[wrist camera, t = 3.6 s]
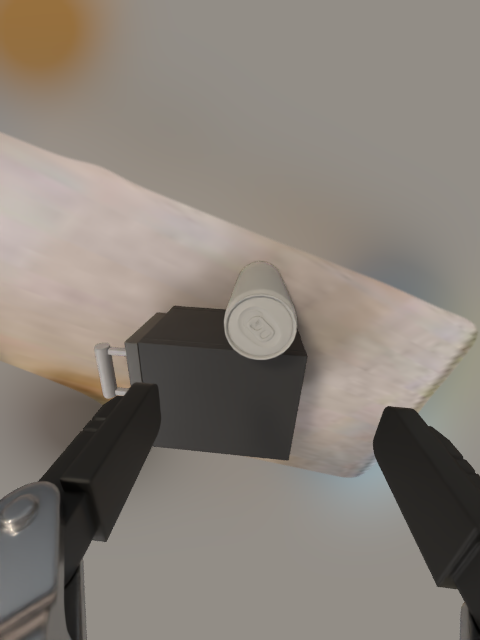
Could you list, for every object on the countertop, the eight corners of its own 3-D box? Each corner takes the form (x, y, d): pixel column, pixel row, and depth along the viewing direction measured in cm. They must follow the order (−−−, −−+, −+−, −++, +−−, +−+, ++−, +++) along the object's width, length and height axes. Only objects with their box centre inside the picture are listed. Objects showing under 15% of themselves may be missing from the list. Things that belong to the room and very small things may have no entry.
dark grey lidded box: (178, 388, 33) (150, 446, 24) (174, 305, 28) (137, 342, 20) (280, 397, 32) (288, 460, 24) (293, 314, 28) (307, 356, 19)
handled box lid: (127, 384, 32) (92, 428, 25) (116, 309, 28) (70, 337, 21) (259, 396, 31) (259, 445, 24) (267, 320, 27) (270, 354, 20)
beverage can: (262, 250, 25) (264, 274, 14) (291, 285, 26) (315, 333, 15) (228, 281, 27) (206, 325, 16) (257, 312, 28) (256, 374, 17)
